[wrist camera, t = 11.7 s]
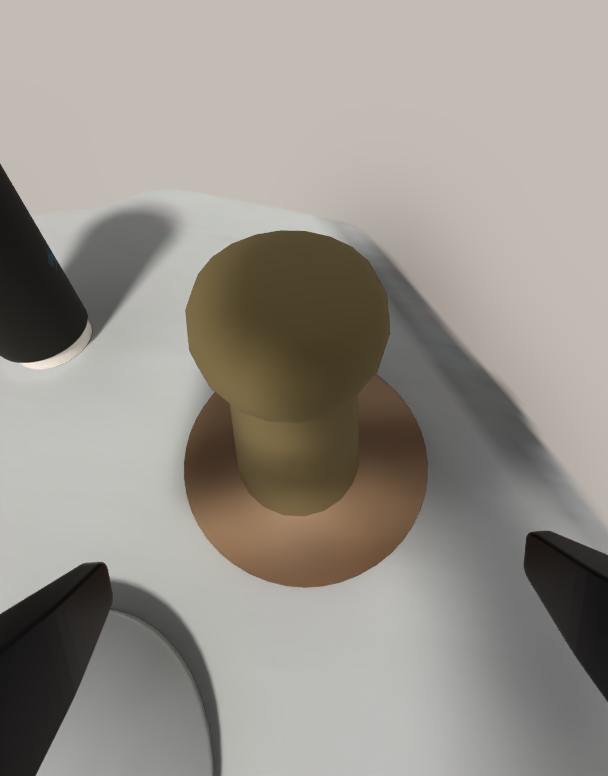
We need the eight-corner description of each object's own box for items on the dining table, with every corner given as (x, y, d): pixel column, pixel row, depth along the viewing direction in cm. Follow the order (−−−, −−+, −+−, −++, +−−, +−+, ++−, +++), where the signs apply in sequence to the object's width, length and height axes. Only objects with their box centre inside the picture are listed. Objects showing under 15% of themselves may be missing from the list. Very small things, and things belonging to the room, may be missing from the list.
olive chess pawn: (213, 448, 17) (96, 264, 8) (303, 381, 19) (298, 172, 10) (291, 547, 15) (261, 453, 5) (384, 457, 17) (482, 275, 7)
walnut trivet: (465, 544, 15) (475, 540, 15) (202, 624, 14) (194, 626, 13) (372, 346, 22) (375, 335, 21) (182, 387, 20) (177, 378, 19)
